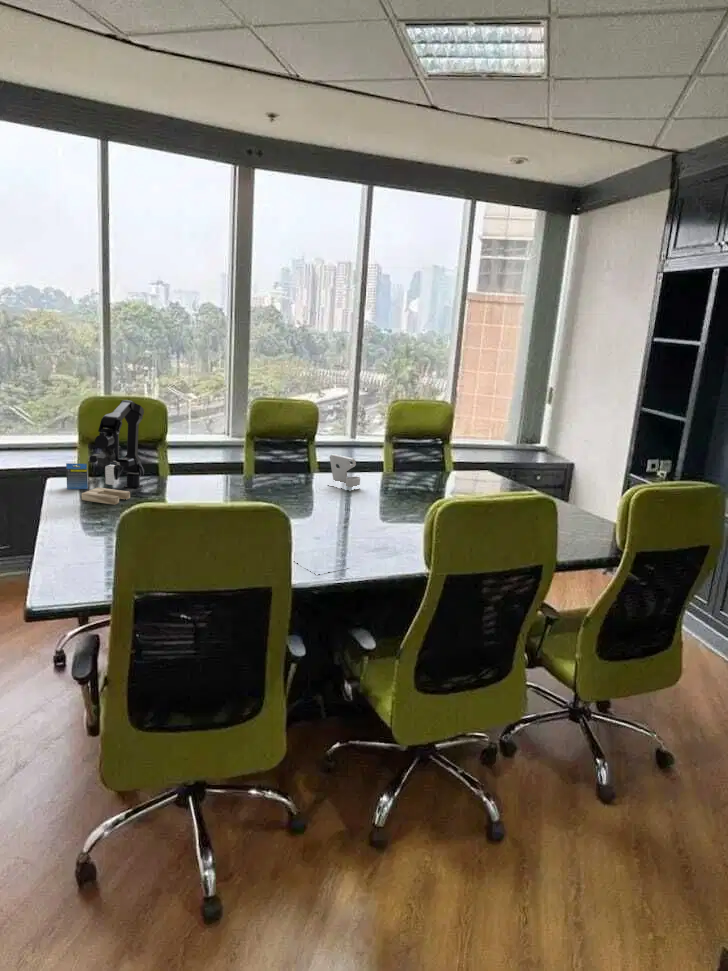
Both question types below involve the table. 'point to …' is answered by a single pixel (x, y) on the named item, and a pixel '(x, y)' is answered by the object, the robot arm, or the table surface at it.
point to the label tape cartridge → (77, 476)
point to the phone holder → (343, 470)
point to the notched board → (105, 495)
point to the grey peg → (111, 475)
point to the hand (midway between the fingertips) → (112, 479)
